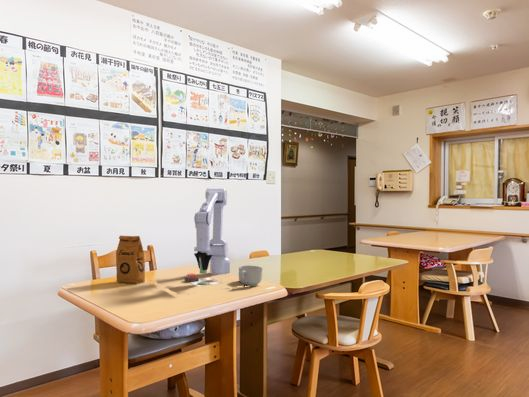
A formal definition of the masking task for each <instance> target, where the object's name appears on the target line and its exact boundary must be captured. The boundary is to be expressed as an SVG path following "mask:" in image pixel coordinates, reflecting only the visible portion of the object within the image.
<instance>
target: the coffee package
mask: <svg viewBox="0 0 529 397" xmlns="http://www.w3.org/2000/svg"><path fill="white" fill-rule="evenodd" d="M118 239H119V240H118V244H117V249H116V251H115V266H116V267H115V268H116V282H117V283H123V284H129V285H131V284H134V285H138V284H141V283H144V282H146V279H145V278H146V263H145V262H146V261H145V252H144V249H143V248H144V247H143V245H142V241H141V237H140V235H133V236H132V235H119V237H118Z"/></svg>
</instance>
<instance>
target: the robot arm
mask: <svg viewBox="0 0 529 397" xmlns="http://www.w3.org/2000/svg"><path fill="white" fill-rule="evenodd" d="M204 196H205V199H206V200H205V202H203V203H202V204H201V207H200V208H199V210H198V211H197V212H195V214H194V220H193V221H194V228H195V229H196V230H195V231H196V246H195V247H194V249H193V250H194V254H193V255H194V256H195V259H196V261H197V266H198V269H199V270H200V261H199V257H200V259H201V264H202V270H208V269H210V270H209V271H210V272H209V273H210V275H214V276H215V275H216V276H217V275H218V276H219V275H226V274H230V273H231V269H230V268H231V265H230V264H231V262H230V259H229V257H227V256H228V253H229V249H228V242H227V241H226V240H225V239H223V221H224V220H223V217H224V214H223V212H224V206H226V205H227V203H228V193H227V189H226V188H225V187H223V188H206V190H205V195H204ZM212 214H213V216H212ZM212 218H213V219H212ZM211 223H212V238H211V239H210V225H211ZM209 264H210V265H209ZM209 266H210V267H209Z"/></svg>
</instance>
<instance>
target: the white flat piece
mask: <svg viewBox="0 0 529 397" xmlns="http://www.w3.org/2000/svg"><path fill="white" fill-rule="evenodd" d="M184 282H186V283H188V284H192V285H193V286H195V287H202V286H203V287H204V286H212V285H218V284H223V282H222V281H219V280H217V279H215V278H212V277H210V276H209V277H208V276H207V277H201V278H199V277H197V276H196V278H192V279H188V278H187V276H185V277H184Z"/></svg>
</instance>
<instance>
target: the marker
mask: <svg viewBox="0 0 529 397" xmlns="http://www.w3.org/2000/svg"><path fill="white" fill-rule="evenodd" d="M199 261H200V269H199V274H204V275H205V274H207V270H208V269H207V270H202V264H201V259H200V257H199Z"/></svg>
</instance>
